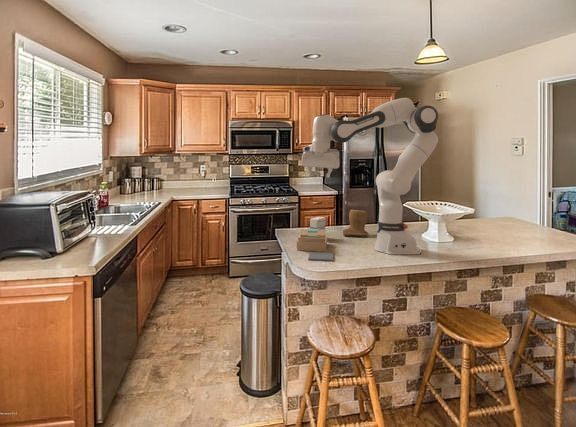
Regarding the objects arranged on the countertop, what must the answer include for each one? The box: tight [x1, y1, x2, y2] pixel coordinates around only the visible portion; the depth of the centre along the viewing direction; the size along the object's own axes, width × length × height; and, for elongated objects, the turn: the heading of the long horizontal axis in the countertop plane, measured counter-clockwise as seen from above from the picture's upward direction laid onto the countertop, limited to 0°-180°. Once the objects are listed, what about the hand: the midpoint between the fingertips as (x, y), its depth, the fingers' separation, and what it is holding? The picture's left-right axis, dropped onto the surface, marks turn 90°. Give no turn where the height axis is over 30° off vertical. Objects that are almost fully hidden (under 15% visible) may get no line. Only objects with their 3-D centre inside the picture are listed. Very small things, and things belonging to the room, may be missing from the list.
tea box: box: [307, 227, 318, 238], centre depth 196 cm, size 5×6×9 cm
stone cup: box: [342, 209, 369, 237], centre depth 223 cm, size 15×12×15 cm
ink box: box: [309, 216, 327, 230], centre depth 213 cm, size 8×5×12 cm, turn 141°
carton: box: [296, 228, 328, 252], centre depth 196 cm, size 14×20×7 cm
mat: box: [307, 251, 334, 262], centre depth 178 cm, size 11×11×1 cm
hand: (319, 176), depth 191 cm, fingers open, 8 cm apart
